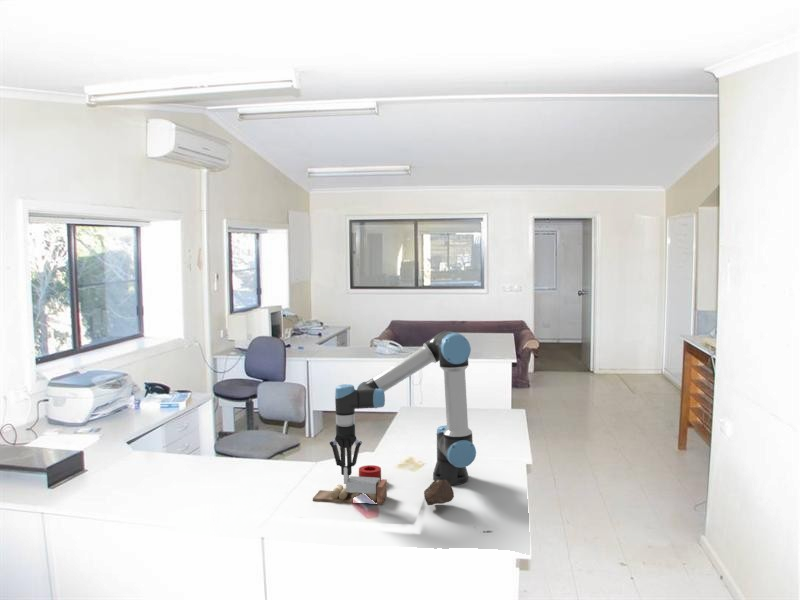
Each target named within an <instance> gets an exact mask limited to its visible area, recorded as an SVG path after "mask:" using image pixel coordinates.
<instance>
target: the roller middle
mask: <svg viewBox="0 0 800 600" xmlns="http://www.w3.org/2000/svg"><path fill="white" fill-rule="evenodd" d="M349 493H350V492H346V485H345V486H343V490H342V491H341V492H340V493H339V498H340V499H342V500H344V499H345V498H346V497H347V496H348V494H349Z"/></svg>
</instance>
